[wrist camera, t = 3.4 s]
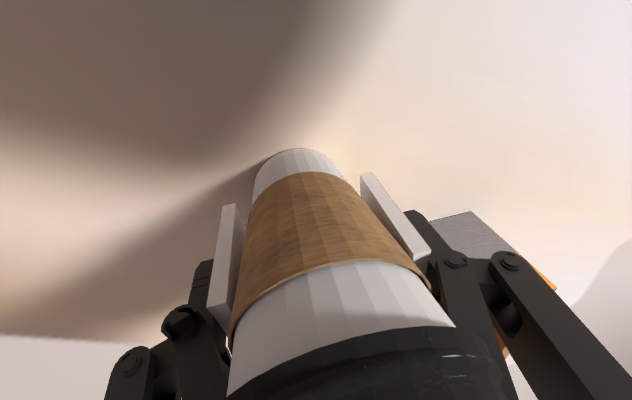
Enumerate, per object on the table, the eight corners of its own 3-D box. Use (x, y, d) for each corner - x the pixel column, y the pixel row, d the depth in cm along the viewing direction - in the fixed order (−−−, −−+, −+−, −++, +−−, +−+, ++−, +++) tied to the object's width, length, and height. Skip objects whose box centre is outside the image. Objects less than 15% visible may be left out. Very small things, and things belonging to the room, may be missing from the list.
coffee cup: (251, 243, 20) (249, 593, 8) (216, 139, 15) (56, 677, 3) (356, 221, 21) (499, 504, 9) (356, 117, 16) (700, 446, 4)
